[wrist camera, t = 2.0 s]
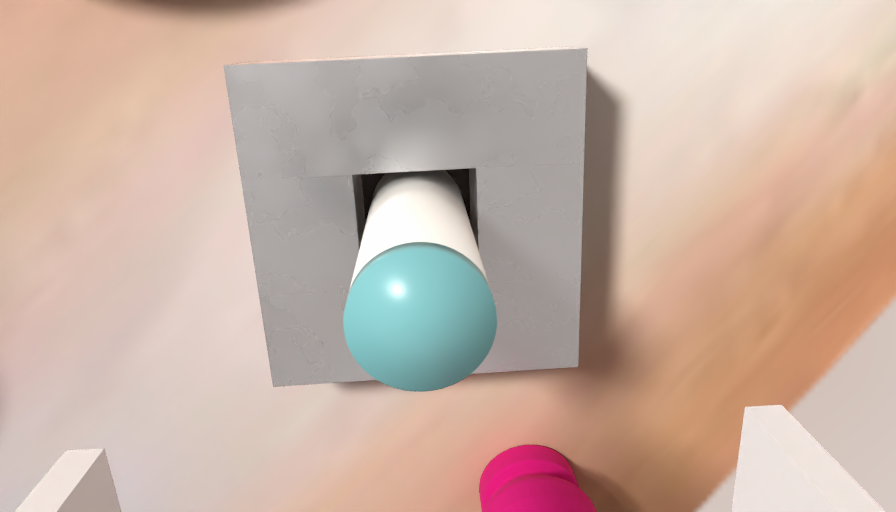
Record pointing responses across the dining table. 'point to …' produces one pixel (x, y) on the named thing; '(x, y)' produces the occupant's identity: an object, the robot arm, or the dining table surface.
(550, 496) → the pepper mill
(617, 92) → the dining table surface
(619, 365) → the dining table surface
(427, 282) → the plug
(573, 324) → the housing
